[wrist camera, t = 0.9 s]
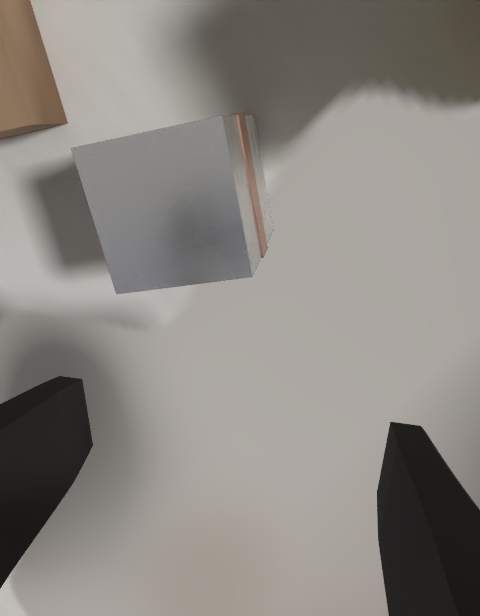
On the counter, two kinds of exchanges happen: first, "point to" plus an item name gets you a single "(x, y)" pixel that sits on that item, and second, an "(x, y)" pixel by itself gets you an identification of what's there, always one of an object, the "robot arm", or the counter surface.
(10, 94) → the walnut block
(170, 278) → the steel tea tin
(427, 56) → the counter surface
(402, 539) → the robot arm
